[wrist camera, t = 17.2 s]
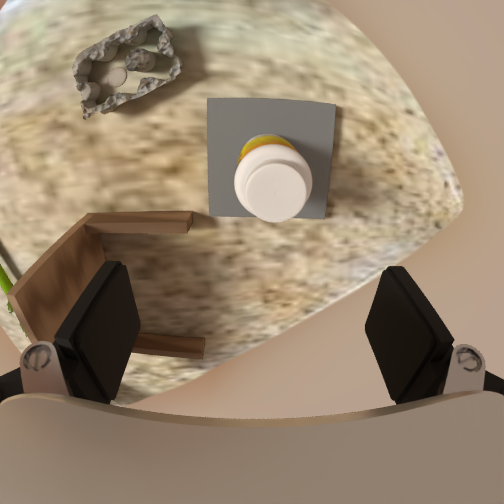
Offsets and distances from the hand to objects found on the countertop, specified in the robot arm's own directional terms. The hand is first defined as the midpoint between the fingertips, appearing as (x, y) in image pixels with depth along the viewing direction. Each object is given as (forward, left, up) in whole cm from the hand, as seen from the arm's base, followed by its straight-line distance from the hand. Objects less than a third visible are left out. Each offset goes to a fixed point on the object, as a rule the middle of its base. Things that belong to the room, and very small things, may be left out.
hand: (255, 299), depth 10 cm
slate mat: (+1, -2, -20) cm, 21 cm away
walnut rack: (-15, +12, -20) cm, 28 cm away
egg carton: (+11, +12, -21) cm, 27 cm away
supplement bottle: (+1, -1, -20) cm, 20 cm away
